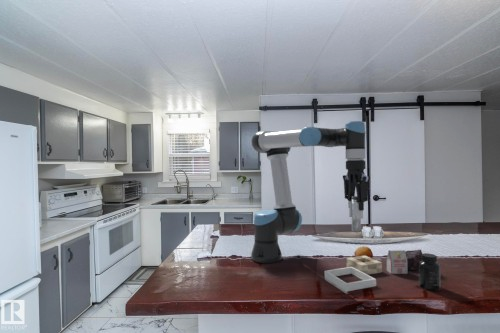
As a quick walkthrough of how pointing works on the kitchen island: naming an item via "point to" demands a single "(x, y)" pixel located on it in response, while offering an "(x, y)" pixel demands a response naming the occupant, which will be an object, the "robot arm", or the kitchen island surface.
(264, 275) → the kitchen island surface
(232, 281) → the kitchen island surface
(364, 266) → the pin block
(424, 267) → the supplement bottle
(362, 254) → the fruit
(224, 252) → the kitchen island surface
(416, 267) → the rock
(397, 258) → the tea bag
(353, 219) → the pin
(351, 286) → the grey square frame
